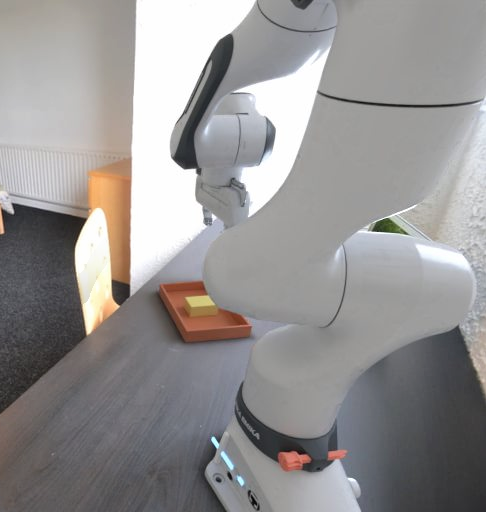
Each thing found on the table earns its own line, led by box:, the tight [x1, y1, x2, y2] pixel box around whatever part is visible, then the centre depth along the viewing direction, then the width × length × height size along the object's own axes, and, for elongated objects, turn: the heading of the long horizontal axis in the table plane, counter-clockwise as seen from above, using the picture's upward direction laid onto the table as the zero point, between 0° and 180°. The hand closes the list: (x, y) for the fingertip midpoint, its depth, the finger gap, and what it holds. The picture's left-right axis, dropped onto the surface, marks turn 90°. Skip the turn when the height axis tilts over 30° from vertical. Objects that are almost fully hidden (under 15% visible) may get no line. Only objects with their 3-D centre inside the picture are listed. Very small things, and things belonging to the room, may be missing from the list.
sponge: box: [184, 295, 218, 317], centre depth 92 cm, size 7×4×3 cm, turn 96°
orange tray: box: [158, 280, 253, 343], centre depth 92 cm, size 21×15×3 cm
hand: (215, 231), depth 86 cm, fingers open, 8 cm apart
